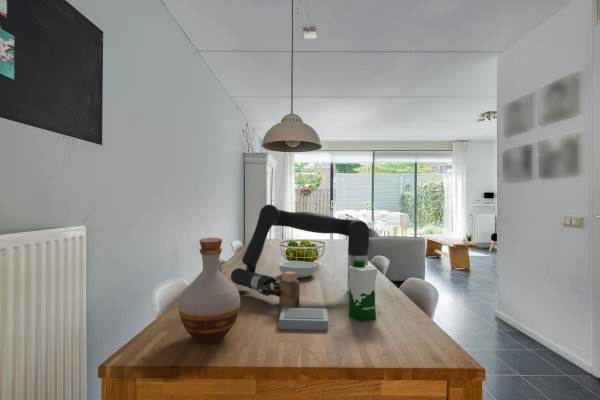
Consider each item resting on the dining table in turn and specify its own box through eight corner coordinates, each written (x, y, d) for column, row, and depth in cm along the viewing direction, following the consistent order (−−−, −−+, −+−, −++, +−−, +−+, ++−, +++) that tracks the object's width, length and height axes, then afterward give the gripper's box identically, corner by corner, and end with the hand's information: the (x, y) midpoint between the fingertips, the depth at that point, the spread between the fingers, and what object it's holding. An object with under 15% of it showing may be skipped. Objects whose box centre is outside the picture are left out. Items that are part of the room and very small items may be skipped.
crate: (289, 305, 130) (290, 278, 131) (299, 309, 126) (299, 280, 127) (279, 308, 127) (279, 280, 127) (288, 312, 123) (288, 283, 123)
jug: (193, 324, 109) (194, 234, 110) (246, 325, 109) (247, 235, 109) (167, 351, 90) (168, 242, 90) (232, 353, 89) (233, 243, 89)
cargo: (290, 278, 129) (290, 271, 129) (296, 280, 127) (296, 272, 127) (282, 280, 127) (282, 272, 127) (289, 282, 124) (289, 274, 124)
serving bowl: (317, 281, 172) (317, 268, 172) (277, 280, 172) (277, 267, 172) (315, 272, 193) (316, 260, 193) (280, 272, 193) (280, 260, 193)
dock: (326, 317, 118) (326, 308, 118) (328, 330, 106) (328, 320, 106) (282, 316, 119) (282, 307, 119) (278, 328, 107) (279, 319, 107)
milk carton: (364, 311, 125) (364, 258, 125) (380, 319, 117) (380, 262, 117) (345, 314, 121) (345, 260, 121) (360, 323, 113) (361, 264, 113)
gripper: (249, 277, 134) (274, 285, 122) (276, 272, 144) (302, 279, 132) (249, 296, 134) (274, 305, 122) (276, 289, 144) (302, 298, 132)
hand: (288, 291), depth 127 cm, fingers open, 8 cm apart
